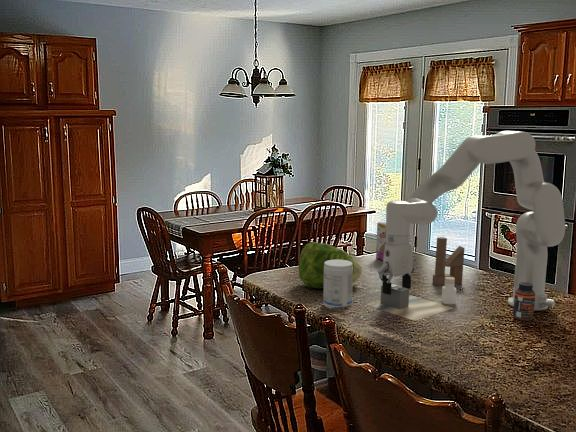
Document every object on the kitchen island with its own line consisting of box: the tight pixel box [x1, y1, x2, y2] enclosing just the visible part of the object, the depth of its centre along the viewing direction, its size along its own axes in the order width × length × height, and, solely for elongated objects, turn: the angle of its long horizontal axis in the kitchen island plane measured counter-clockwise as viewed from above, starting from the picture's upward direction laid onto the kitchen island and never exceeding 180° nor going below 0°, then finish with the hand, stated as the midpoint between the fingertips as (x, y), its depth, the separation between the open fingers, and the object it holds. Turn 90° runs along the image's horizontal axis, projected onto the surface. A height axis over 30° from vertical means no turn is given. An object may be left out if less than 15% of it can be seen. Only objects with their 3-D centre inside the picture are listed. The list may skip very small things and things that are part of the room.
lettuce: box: [298, 241, 363, 289], centre depth 213 cm, size 17×23×16 cm
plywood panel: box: [365, 294, 455, 322], centre depth 189 cm, size 20×20×1 cm
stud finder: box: [379, 283, 410, 309], centre depth 189 cm, size 8×4×6 cm, turn 39°
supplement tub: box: [322, 259, 354, 309], centre depth 191 cm, size 10×10×15 cm
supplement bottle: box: [512, 282, 535, 322], centre depth 181 cm, size 6×6×11 cm
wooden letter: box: [432, 236, 465, 287], centre depth 218 cm, size 4×11×18 cm, turn 106°
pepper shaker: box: [440, 277, 457, 305], centre depth 193 cm, size 4×4×10 cm
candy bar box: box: [375, 221, 386, 262], centre depth 254 cm, size 11×5×16 cm, turn 30°
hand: (396, 290), depth 189 cm, fingers open, 9 cm apart
